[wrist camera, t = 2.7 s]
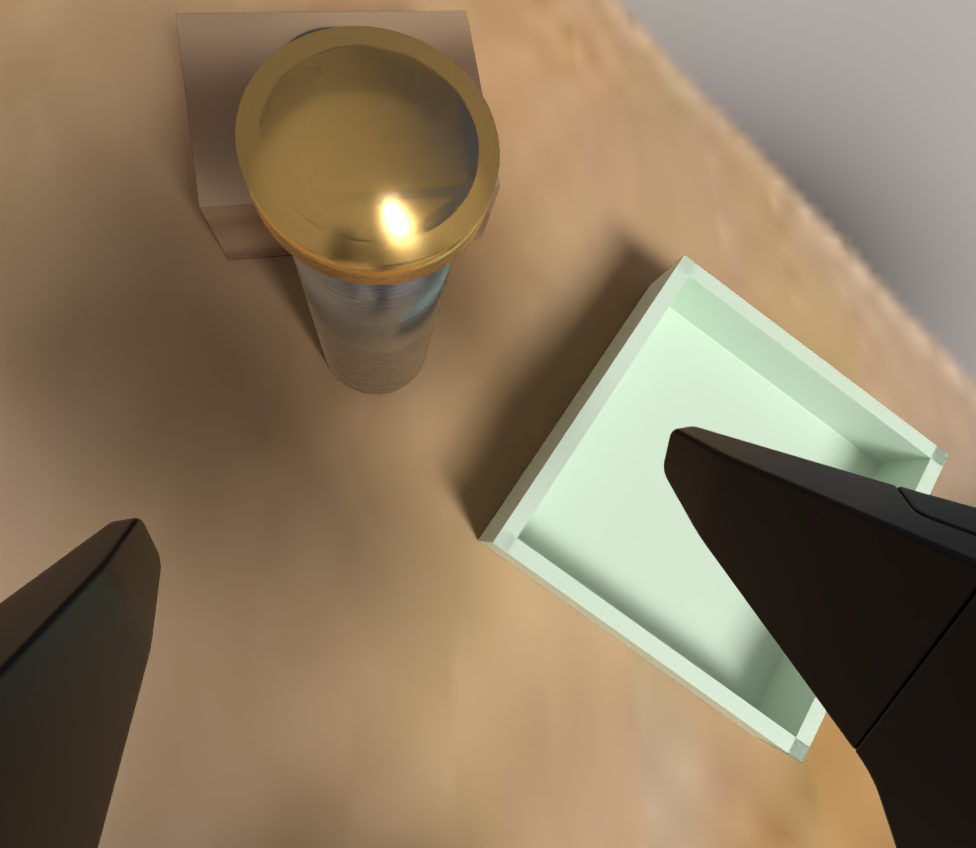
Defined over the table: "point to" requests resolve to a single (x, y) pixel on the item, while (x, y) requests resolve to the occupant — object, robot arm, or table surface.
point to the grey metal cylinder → (368, 186)
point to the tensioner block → (228, 70)
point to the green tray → (656, 509)
